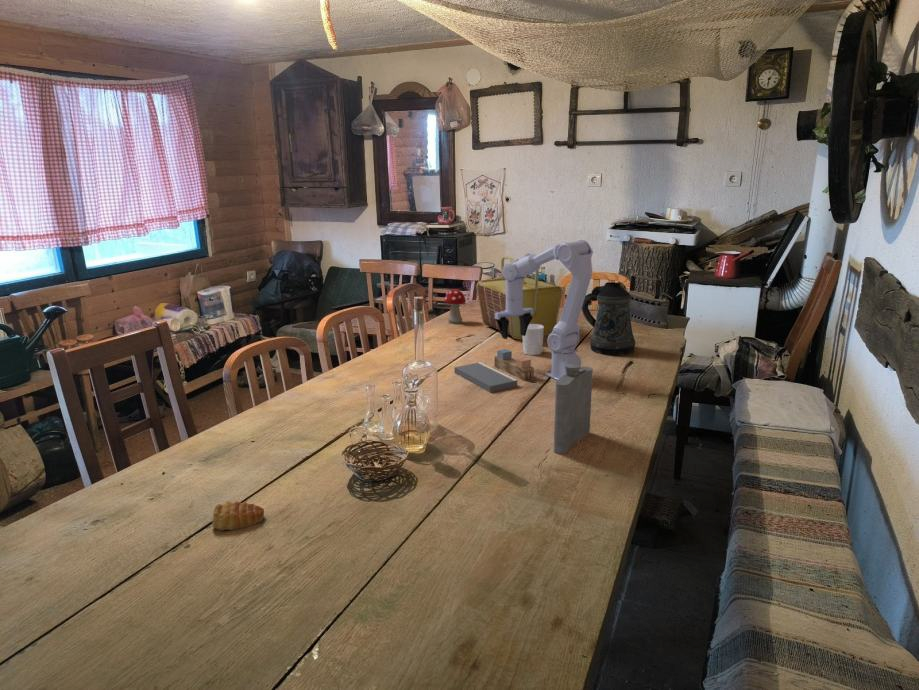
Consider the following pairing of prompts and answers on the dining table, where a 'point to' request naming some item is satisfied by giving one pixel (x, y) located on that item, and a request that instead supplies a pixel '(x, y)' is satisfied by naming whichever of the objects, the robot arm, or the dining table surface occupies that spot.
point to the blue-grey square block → (504, 354)
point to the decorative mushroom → (454, 305)
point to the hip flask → (572, 407)
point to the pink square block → (523, 362)
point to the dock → (486, 377)
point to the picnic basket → (534, 296)
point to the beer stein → (610, 320)
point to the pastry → (236, 515)
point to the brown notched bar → (514, 368)
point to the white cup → (533, 339)
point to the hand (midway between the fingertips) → (513, 336)
